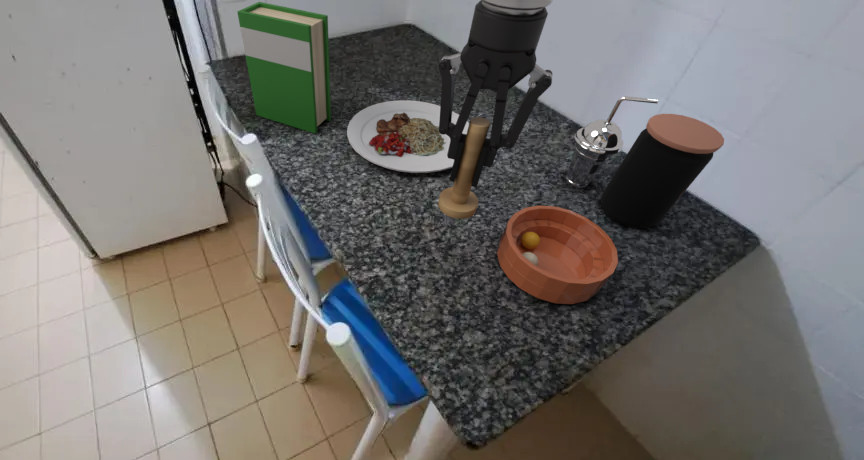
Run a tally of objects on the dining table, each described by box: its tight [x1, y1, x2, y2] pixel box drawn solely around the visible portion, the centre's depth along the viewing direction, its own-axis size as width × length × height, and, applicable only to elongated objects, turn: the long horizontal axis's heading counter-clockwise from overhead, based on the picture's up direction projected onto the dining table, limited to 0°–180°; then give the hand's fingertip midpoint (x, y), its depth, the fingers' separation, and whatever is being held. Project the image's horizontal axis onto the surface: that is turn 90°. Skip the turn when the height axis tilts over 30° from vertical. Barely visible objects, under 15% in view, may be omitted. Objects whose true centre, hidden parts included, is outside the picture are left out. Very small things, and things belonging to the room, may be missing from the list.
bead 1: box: [521, 232, 540, 249], centre depth 67 cm, size 3×3×3 cm
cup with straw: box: [564, 95, 659, 189], centre depth 75 cm, size 8×9×20 cm
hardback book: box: [236, 1, 332, 135], centre depth 90 cm, size 18×7×24 cm, turn 62°
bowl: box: [496, 205, 619, 305], centre depth 64 cm, size 17×17×6 cm
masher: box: [437, 116, 491, 220], centre depth 57 cm, size 6×6×15 cm
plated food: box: [346, 99, 470, 174], centre depth 91 cm, size 30×30×3 cm
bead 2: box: [522, 252, 538, 266], centre depth 64 cm, size 3×3×3 cm
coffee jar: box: [600, 113, 725, 229], centre depth 69 cm, size 11×11×18 cm
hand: (464, 178), depth 58 cm, fingers closed on masher, 3 cm apart
